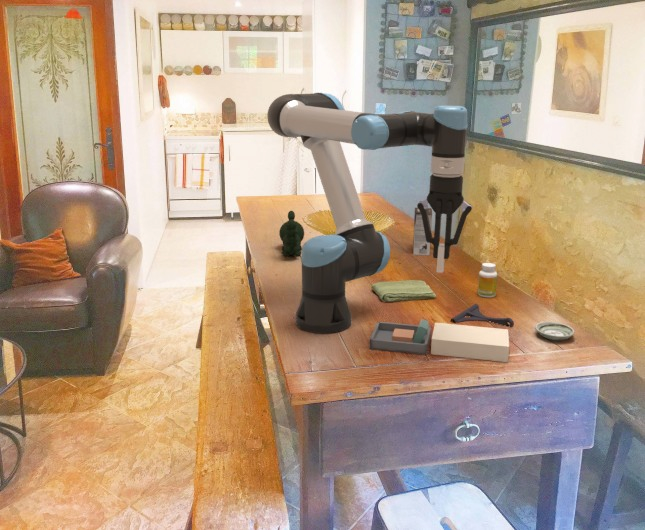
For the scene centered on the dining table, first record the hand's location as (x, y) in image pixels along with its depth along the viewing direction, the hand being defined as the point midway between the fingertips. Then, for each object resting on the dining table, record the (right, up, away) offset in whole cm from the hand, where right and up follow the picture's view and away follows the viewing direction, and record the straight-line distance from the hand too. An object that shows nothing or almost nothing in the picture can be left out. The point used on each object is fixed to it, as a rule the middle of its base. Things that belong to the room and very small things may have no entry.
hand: (440, 270), depth 154 cm
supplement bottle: (+22, -8, +40) cm, 46 cm away
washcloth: (-4, -8, +41) cm, 42 cm away
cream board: (+8, -19, +2) cm, 21 cm away
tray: (-9, -18, +6) cm, 21 cm away
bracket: (+17, -15, +21) cm, 30 cm away
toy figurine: (-40, +6, +83) cm, 93 cm away
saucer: (+31, -17, +10) cm, 37 cm away
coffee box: (+9, +6, +85) cm, 86 cm away
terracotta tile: (-8, -16, +5) cm, 19 cm away
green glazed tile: (-3, -16, +4) cm, 17 cm away
